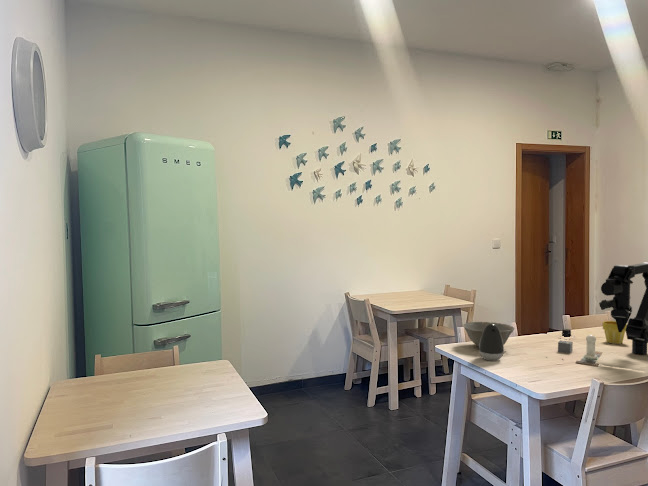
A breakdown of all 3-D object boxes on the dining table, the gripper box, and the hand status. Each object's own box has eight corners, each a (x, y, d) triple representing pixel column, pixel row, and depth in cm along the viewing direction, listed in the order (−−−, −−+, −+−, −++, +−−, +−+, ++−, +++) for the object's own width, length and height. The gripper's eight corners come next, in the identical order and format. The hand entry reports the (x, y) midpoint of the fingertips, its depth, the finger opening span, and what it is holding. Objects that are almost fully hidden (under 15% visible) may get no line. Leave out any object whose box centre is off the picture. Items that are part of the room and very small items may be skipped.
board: (586, 350, 228) (586, 349, 228) (606, 353, 223) (606, 352, 223) (575, 363, 207) (575, 361, 207) (597, 366, 202) (597, 364, 202)
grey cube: (560, 351, 228) (560, 340, 227) (572, 352, 225) (572, 341, 224) (557, 353, 223) (558, 342, 223) (570, 355, 221) (570, 343, 220)
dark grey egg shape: (482, 362, 208) (482, 326, 207) (475, 355, 218) (476, 321, 218) (507, 362, 207) (507, 326, 207) (499, 356, 218) (500, 321, 217)
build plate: (568, 341, 249) (569, 332, 249) (553, 339, 254) (554, 330, 254) (578, 337, 258) (578, 328, 257) (563, 335, 263) (563, 326, 263)
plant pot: (597, 340, 248) (597, 321, 248) (613, 339, 251) (613, 320, 251) (615, 345, 238) (615, 325, 238) (631, 344, 242) (632, 324, 241)
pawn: (585, 356, 216) (585, 333, 216) (597, 357, 213) (598, 334, 213) (583, 358, 212) (584, 335, 212) (596, 360, 209) (596, 336, 209)
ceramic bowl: (454, 347, 233) (454, 326, 232) (476, 339, 250) (477, 319, 249) (500, 356, 218) (501, 333, 217) (521, 347, 234) (521, 326, 234)
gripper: (603, 290, 227) (603, 324, 227) (597, 295, 212) (596, 331, 212) (632, 292, 220) (631, 327, 221) (628, 297, 205) (627, 335, 206)
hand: (621, 330), depth 215 cm, fingers open, 9 cm apart
